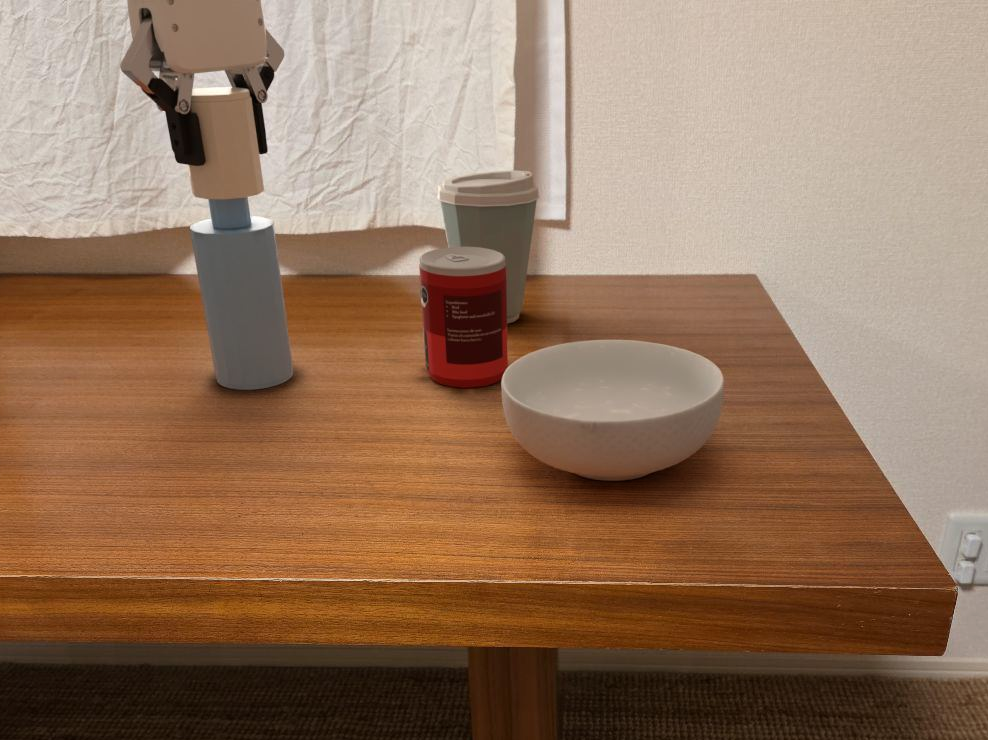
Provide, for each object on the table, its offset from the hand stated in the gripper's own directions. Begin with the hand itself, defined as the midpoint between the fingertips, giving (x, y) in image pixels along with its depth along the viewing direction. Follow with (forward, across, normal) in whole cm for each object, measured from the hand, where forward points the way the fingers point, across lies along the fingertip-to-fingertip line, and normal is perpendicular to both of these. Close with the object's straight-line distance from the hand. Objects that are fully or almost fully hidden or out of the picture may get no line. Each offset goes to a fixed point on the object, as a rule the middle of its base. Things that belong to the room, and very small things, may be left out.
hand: (222, 156), depth 85 cm
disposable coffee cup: (+20, -27, +7) cm, 34 cm away
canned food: (+20, -12, +16) cm, 28 cm away
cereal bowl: (+20, -4, +37) cm, 42 cm away
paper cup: (+3, 0, 0) cm, 3 cm away
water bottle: (+20, 0, 0) cm, 20 cm away
